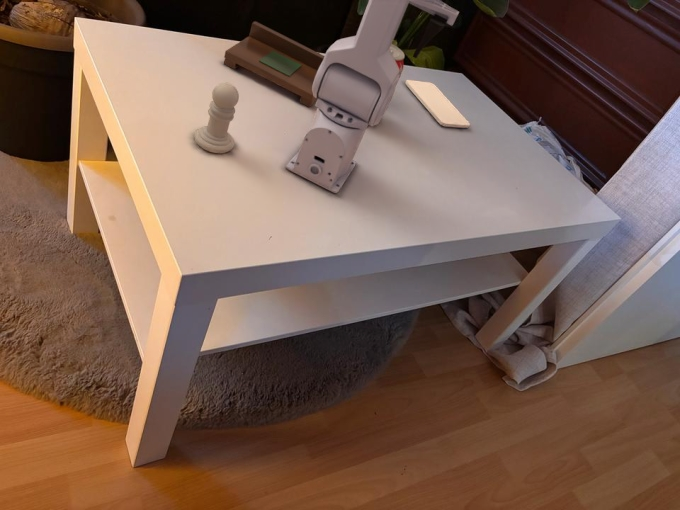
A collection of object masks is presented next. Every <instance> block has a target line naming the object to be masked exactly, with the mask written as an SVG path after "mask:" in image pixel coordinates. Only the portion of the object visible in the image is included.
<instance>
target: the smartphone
mask: <svg viewBox="0 0 680 510" xmlns="http://www.w3.org/2000/svg"><path fill="white" fill-rule="evenodd" d="M405 85H406V87H407V88H408V89H409V90H410V91H411V93H413V95H414V96H415V97H416V98H417V99H418V101H420V103H421V104H422V106H423V107H424V108H425V109H426V110H427V112H429V113H430V114H431V115H432V117H433V118H434V119H435V121H436V122H437V123H438V124H439V125H440V126H442V127H447V128H448V127H449V128H462V129H464V128H465V129H468V128H469V127H470V126H471V123H470V121H468V119H467V118H466V117H465V116H464V115H463V114H462V113H461V112H460V111H459V110H458V109H457V108H456V107H455V105H454V104H453V103H452V102H451V101H450V100H449V99H448V98H447V97H446V95H445V94H443V92H442V91H441V90H440V89H439V87H437V86H436V84H434V83H432V82H429V81H422V80H413V79H406V81H405Z"/></svg>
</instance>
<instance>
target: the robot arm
mask: <svg viewBox="0 0 680 510" xmlns="http://www.w3.org/2000/svg"><path fill="white" fill-rule="evenodd" d="M409 4H410V5H412V6H414V7H416V8H418V9H420V10H422V11H424V12H426V13H428V14H430V15H432V16H431V18H430V20H429V21H428V24H427V25H426V28H425V30H424V33H423V35H422V38H421V40H420V41H419V43H418V45H417V47H416V49H415V50H414V52H413V55H412V58H414V59H417V58H418V57H419V56H420V53H421V52H422V50H423V49H424V48H425V46H426V45H427V44H428V43H429V42H430V41H431V40H432V39H433V38H434V37H435V36H436V35H437V34H439V32H441V31H442V30H443V29H444V27H446V25H449V26H453V25H454V24H455V22H456V20H457V17H458V16H459V13H460V11H458V10H457V9H455V8H453V7H451V6H449V5H448V4H447V3H445V2H443V1H442V0H368V2H367V5H366V7H365V10H364V14H363V16H362V18H361V21H360V23H359V27H358V29H357V31H356V35H352V36H348V37H344V38H340V39H337V40H336V41H335V42H334V43H332V44H331V45H330V46H329V47H328V49H327V50H326V52H325V54H324V56H325V57H324V59H323V61H322V63H321V65H320V67H319V69H318V71H317V74H316V76H315V79H314V82H313V85H312V92H313V96H314V97H315V98H317V100H316V101H315V105H314V106H315V107H316V111H315V114H314V117H313V120H312V121H311V125H310V128H309V129H308V131H306V133H305V135H304V137H303V140H302V143H301V145H300V148H299V150H298V151H297V152H296V153H295V155H294V156H293V157H292V158H291V159H290V160H289V162H288V163H287V164H286V167H285V168H286V169H287V170H288V171H289V172H292V173H293V174H296V175H298V176H300V177H301V178H304V179H305V180H308V181H310V182H311V183H314V184H316V185H317V186H319V187H322V188H324V189H326V190H328V191H329V192H332V193H333V194H338V193H339V191H341V188H342V186H343V185H344V183H346V180H347V179H348V177H349V175H351V173H352V171H353V169H354V168H355V167H356V165H357V161H356V160H354V158H355V155H356V153H357V151H358V149H359V146H360V144H361V142H362V139H363V137H364V135H365V132H366V130H367V128H368V126H370V127H374V126H376V125H379V123H380V122H381V120H382V118H383V116H384V115H385V113H386V111H387V109H388V107H389V105H390V103H391V101H392V98H393V96H394V94H395V92H396V87H397V85H398V83H397V82H399V80H400V78H401V76H399V73H400V70H399V67H398V65H397V63H396V61H395V59H394V57H393V55H392V53H391V51H390V46H391V44H393V41H394V39H395V36H396V34H397V32H398V29H399V28H400V25H401V23H402V20H403V18H404V15H405V13H406V11H407V8H408V6H409ZM399 77H400V78H399ZM398 79H399V80H398ZM396 84H397V85H396ZM395 86H396V87H395Z"/></svg>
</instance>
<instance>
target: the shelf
mask: <svg viewBox="0 0 680 510" xmlns="http://www.w3.org/2000/svg"><path fill="white" fill-rule="evenodd" d="M324 57H325V55H323V54H322V53H319V52H317V51H315V50H313V49H312V48H309V47H307V46H306V45H303V44H301V43H299V42H298V41H296V40H294V39H292V38H289V37H287V36H285V35H284V34H281V33H280V32H277V31H276V30H274V29H272V28H270V27H267V26H266V25H263V24H262V23H260V22H258V21H256V20H255V21H253V22H252V23H251V27H250V31H249V34H248V36H247V37H245V38H243V39H242V40H240V41H239V42H237V43H236V44H234V45H233V46H231V47H230V48H228V49H226V50H225V52H224V56H223V58H224V61H223V64H224V65H226V66H227V67H229V68H231V69H234V70H235V69H237V68H238V67H242V68H244V69H247V70H248V71H250V72H252V73H254V74H256V75H257V76H260V77H262V78H264V79H266V80H268V81H269V82H271V83H274V84H276V85H277V86H280V87H282V88H283V89H286V90H287V91H289V92H292V93H293V94H296V95H297V96H299V97H300V99H299V103H301V104H303V105H305V106H307V107H308V108H311V107H312V106H313V105H314V103H316V102H317V98H315V97H314V96H313V92H312V85H313V82H314V79H315V76H316V74H317V71H318V69H319V67H320V65H321V63H322V61H323V59H324Z"/></svg>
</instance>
